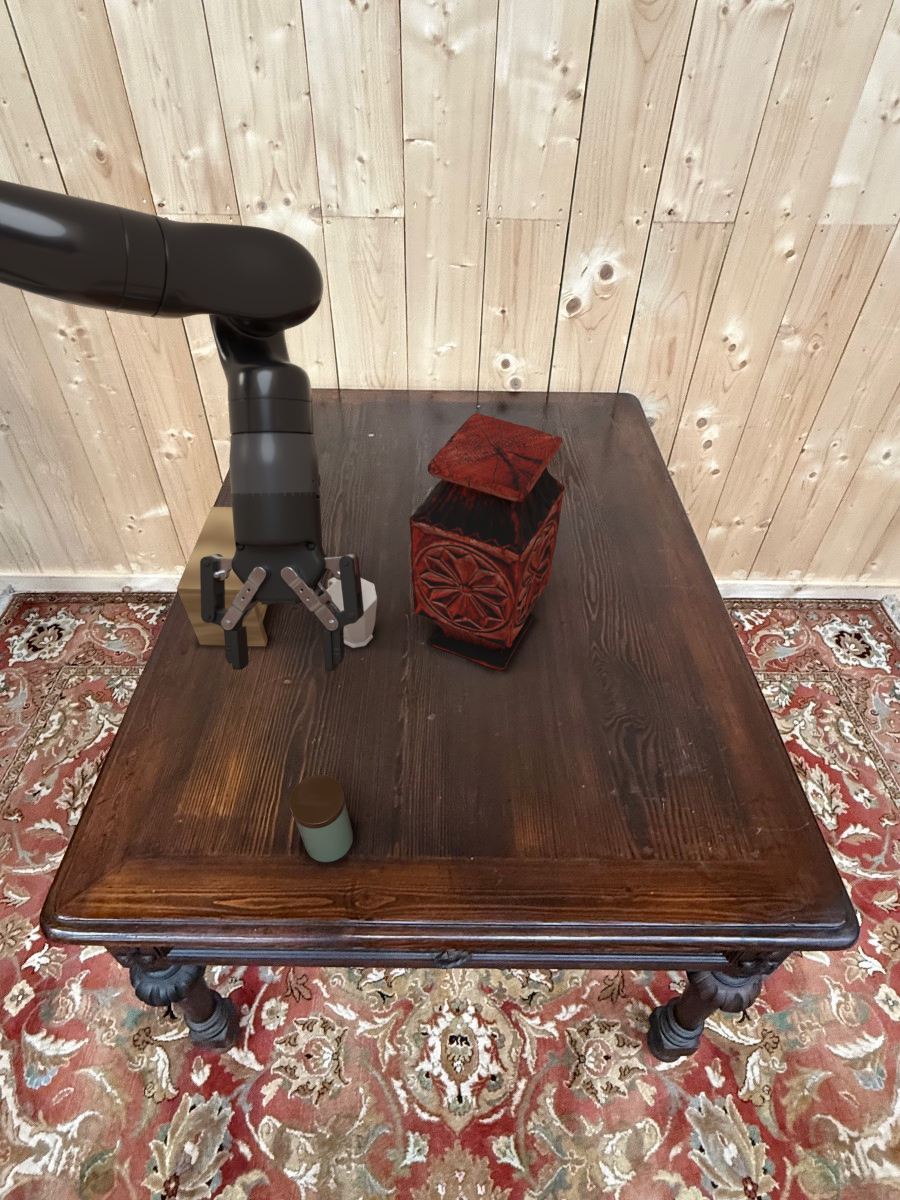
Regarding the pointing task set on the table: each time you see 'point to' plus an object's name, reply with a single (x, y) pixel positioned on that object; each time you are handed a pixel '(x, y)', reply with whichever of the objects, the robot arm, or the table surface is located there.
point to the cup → (363, 628)
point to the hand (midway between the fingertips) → (286, 668)
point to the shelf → (221, 541)
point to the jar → (322, 817)
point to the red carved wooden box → (486, 537)
